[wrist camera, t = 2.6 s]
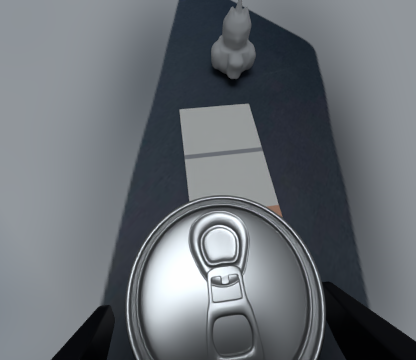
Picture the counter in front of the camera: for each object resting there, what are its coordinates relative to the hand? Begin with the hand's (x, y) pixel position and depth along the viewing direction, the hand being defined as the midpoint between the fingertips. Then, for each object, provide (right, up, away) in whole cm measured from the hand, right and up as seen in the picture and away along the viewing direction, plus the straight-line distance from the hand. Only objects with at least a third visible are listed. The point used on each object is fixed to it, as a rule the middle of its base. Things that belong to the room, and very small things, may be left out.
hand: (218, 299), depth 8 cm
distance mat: (+1, +8, +13) cm, 15 cm away
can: (0, -3, +8) cm, 9 cm away
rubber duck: (+3, +20, +18) cm, 27 cm away
